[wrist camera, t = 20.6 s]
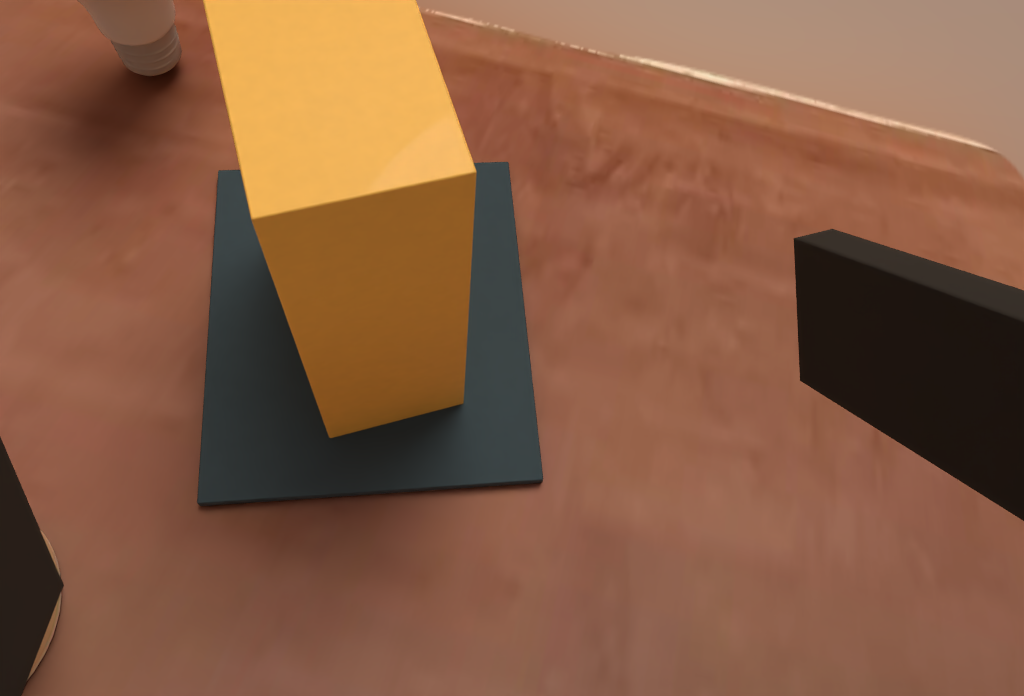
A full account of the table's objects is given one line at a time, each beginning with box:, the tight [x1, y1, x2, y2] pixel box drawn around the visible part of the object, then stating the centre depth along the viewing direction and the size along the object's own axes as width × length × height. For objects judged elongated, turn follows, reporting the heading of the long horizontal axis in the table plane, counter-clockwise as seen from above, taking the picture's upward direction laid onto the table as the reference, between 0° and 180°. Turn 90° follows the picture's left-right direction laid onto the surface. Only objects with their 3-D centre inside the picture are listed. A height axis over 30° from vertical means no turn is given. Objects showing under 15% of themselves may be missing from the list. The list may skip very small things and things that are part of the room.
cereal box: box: [203, 0, 477, 438], centre depth 27 cm, size 5×9×14 cm, turn 17°
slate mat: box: [197, 162, 543, 506], centre depth 33 cm, size 12×14×1 cm
